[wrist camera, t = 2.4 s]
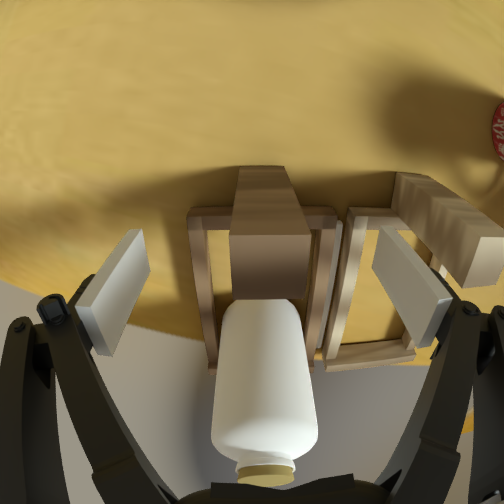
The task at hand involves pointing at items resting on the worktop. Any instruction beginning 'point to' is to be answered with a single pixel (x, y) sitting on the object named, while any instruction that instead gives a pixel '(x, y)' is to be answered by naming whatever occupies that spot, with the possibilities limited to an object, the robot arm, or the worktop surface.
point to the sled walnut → (264, 251)
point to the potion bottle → (263, 392)
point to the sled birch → (444, 259)
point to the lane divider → (330, 281)
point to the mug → (499, 130)
